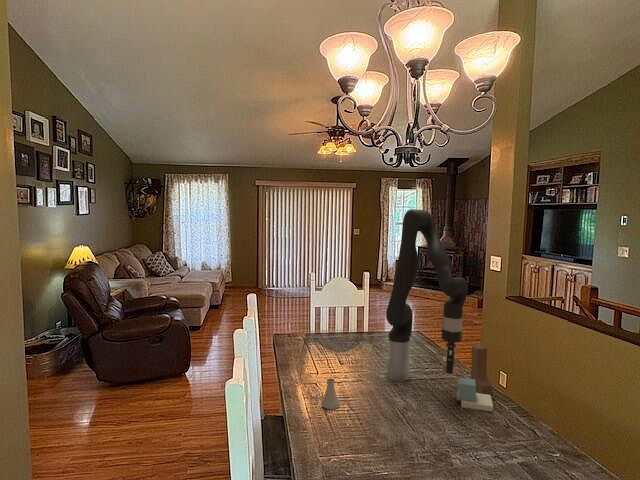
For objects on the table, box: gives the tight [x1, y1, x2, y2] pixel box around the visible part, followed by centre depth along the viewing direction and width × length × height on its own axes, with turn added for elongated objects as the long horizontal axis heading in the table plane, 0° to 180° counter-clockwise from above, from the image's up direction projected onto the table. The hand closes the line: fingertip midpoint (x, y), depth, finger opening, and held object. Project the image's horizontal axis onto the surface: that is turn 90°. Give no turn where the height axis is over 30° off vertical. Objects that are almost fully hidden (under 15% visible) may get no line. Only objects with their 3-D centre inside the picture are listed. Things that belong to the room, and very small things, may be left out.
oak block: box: [441, 355, 458, 376], centre depth 156 cm, size 5×5×5 cm
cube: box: [457, 377, 477, 401], centre depth 154 cm, size 6×6×6 cm
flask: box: [321, 377, 341, 410], centre depth 150 cm, size 7×7×10 cm
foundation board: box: [456, 391, 494, 413], centre depth 153 cm, size 13×10×2 cm
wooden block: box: [470, 344, 493, 396], centre depth 163 cm, size 9×4×18 cm, turn 8°
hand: (449, 370), depth 156 cm, fingers closed on oak block, 5 cm apart
